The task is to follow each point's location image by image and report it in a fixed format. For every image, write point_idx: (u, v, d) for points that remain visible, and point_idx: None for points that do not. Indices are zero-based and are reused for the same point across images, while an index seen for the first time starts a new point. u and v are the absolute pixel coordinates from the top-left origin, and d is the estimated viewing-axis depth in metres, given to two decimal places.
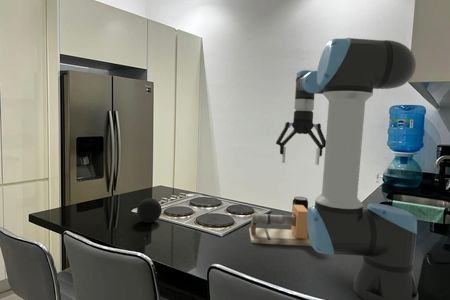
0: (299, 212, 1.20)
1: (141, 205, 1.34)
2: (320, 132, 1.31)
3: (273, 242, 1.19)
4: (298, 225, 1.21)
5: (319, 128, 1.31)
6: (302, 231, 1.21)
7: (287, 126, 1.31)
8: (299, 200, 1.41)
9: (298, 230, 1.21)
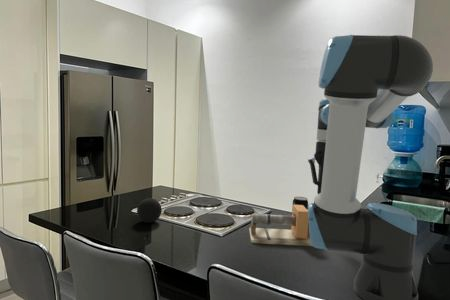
0: (299, 212, 1.20)
1: (141, 205, 1.34)
2: None
3: (273, 242, 1.19)
4: (298, 225, 1.21)
5: None
6: (302, 231, 1.21)
7: (312, 163, 1.23)
8: (299, 200, 1.41)
9: (298, 230, 1.21)
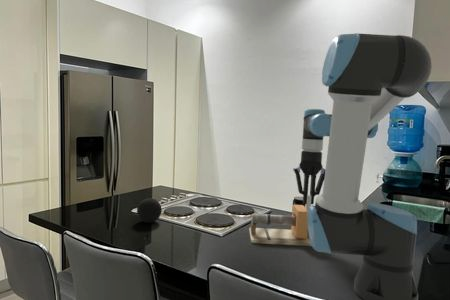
0: (299, 212, 1.20)
1: (141, 205, 1.34)
2: (322, 178, 1.23)
3: (273, 242, 1.19)
4: (298, 225, 1.21)
5: (324, 174, 1.23)
6: (302, 231, 1.21)
7: (297, 172, 1.23)
8: (299, 200, 1.41)
9: (298, 230, 1.21)
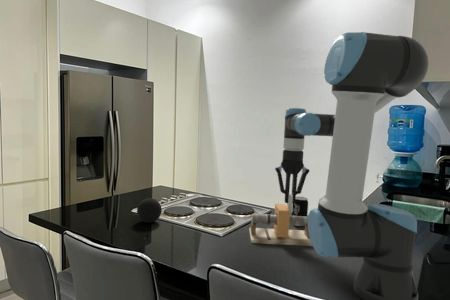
0: (280, 211, 1.21)
1: (141, 205, 1.34)
2: (303, 177, 1.23)
3: (273, 242, 1.19)
4: (279, 224, 1.21)
5: (305, 173, 1.23)
6: (283, 230, 1.21)
7: (279, 172, 1.23)
8: (299, 200, 1.41)
9: (279, 229, 1.21)
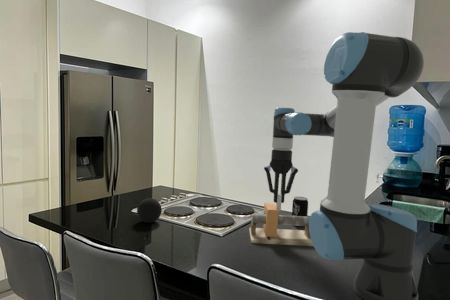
0: (268, 210, 1.21)
1: (141, 205, 1.34)
2: (292, 177, 1.23)
3: (273, 242, 1.19)
4: (268, 223, 1.21)
5: (294, 173, 1.23)
6: (272, 230, 1.21)
7: (267, 171, 1.23)
8: (299, 200, 1.41)
9: (268, 228, 1.21)
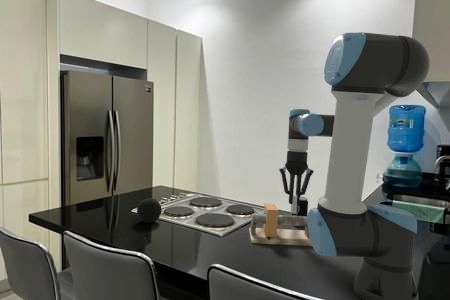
0: (268, 210, 1.21)
1: (141, 205, 1.34)
2: (308, 178, 1.23)
3: (273, 242, 1.19)
4: (267, 223, 1.21)
5: (309, 174, 1.23)
6: (272, 230, 1.21)
7: (283, 172, 1.23)
8: None
9: (267, 228, 1.21)
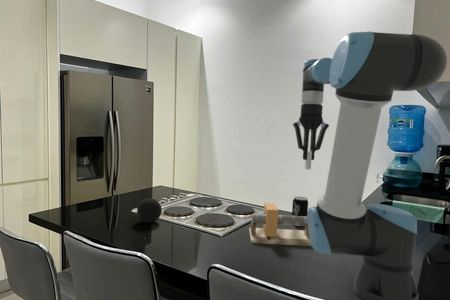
0: (268, 210, 1.21)
1: (141, 205, 1.34)
2: (323, 133, 1.19)
3: (273, 242, 1.19)
4: (267, 223, 1.21)
5: (325, 128, 1.19)
6: (272, 230, 1.21)
7: (297, 126, 1.18)
8: (299, 200, 1.41)
9: (267, 228, 1.21)
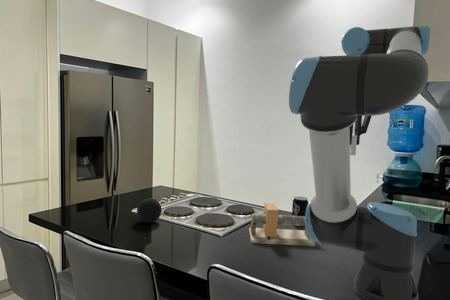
0: (268, 210, 1.21)
1: (141, 205, 1.34)
2: None
3: (273, 242, 1.19)
4: (267, 223, 1.21)
5: None
6: (272, 230, 1.21)
7: None
8: (299, 200, 1.41)
9: (267, 228, 1.21)
